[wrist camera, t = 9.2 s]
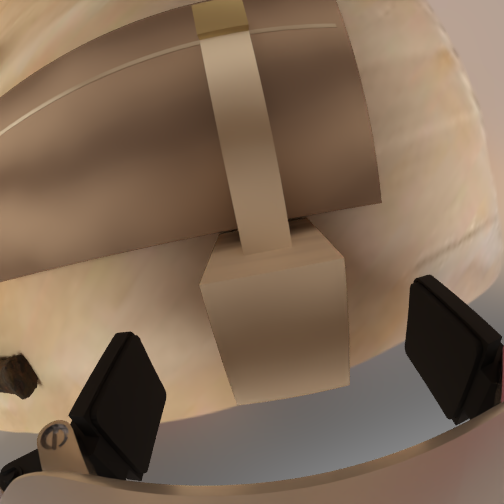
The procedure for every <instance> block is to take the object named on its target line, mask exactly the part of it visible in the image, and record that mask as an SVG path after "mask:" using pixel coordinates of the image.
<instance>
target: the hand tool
mask: <svg viewBox="0 0 504 504" xmlns="http://www.w3.org/2000/svg"><path fill="white" fill-rule="evenodd" d="M35 388H37V376H36V375H35V373H34V371H33V369H32V368H31V366H30V365H29V363H28V362H27V360H26V359H25V358H24V357H23V356H21V355H17V356H15V357H14V356H13V357H11V358H7V359H6V360H0V392H3V393H10V394H16V395H17V396H19V397H20V398H21V399H26V398H27V397H30V395H31V394H32V393H33V392H34V390H35Z"/></svg>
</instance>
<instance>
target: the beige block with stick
mask: <svg viewBox="0 0 504 504" xmlns="http://www.w3.org/2000/svg"><path fill="white" fill-rule="evenodd" d="M191 6H192V11H193V16H194V22H195V27H196V32H197V36H198V38H199V40H200V45H201V50H202V56H203V61H204V66H205V71H206V76H207V81H208V86H209V91H210V96H211V101H212V106H213V111H214V116H215V121H216V125H217V130H218V135H219V140H220V145H221V150H222V155H223V160H224V164H225V169H226V174H227V179H228V184H229V188H230V193H231V198H232V203H233V207H234V212H235V217H236V222H237V226H238V231H235V232H230V233H224V234H219V237H218V239H217V242H216V244H215V247H214V249H213V251H212V254H211V256H210V259H209V261H208V264H207V266H206V269H205V271H204V274H203V276H202V279H201V281H200V284H199V286H200V290H201V293H202V297H203V300H204V304H205V307H206V311H207V314H208V317H209V321H210V324H211V327H212V330H213V334H214V337H215V340H216V343H217V346H218V350H219V353H220V356H221V359H222V362H223V365H224V368H225V371H226V374H227V377H228V380H229V383H230V386H231V389H232V392H233V394H234V397H235V400H236V403H237V405H244V404H251V403H260V402H266V401H273V400H279V399H285V398H291V397H297V396H302V395H307V394H312V393H317V392H322V391H326V390H331V389H335V388H339V387H343V386H347V385H349V384H350V383H349V381H350V379H349V377H350V372H349V371H350V360H349V321H348V301H347V285H346V272H345V260H344V257H343V256H342V255H341V254H340V253H339V252H338V250H337V249H336V248H335V247H334V246H333V245H332V244H331V243H330V242H329V241H328V240H327V239H326V237H325V236H324V235H323V234H322V233H321V232H320V231H319V230H318V229H317V228H316V227H315V226H314V225H313V224H312V223H311V222H310V221H309V219H308V218H304V219H299V220H293V221H288V218H287V212H286V206H285V200H284V195H283V189H282V184H281V178H280V173H279V168H278V162H277V157H276V152H275V147H274V142H273V137H272V132H271V127H270V122H269V117H268V113H267V108H266V103H265V98H264V94H263V89H262V85H261V80H260V76H259V72H258V67H257V63H256V59H255V54H254V50H253V46H252V42H251V38H250V34H249V24H248V20H247V16H246V13H245V9H244V5H243V1H242V0H213V1H208V2H203V3H199V4H195V5H191Z"/></svg>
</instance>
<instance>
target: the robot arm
mask: <svg viewBox="0 0 504 504" xmlns="http://www.w3.org/2000/svg"><path fill="white" fill-rule="evenodd" d="M501 339H502V336H501V335H500V334H499V333H498V332H497V331H495V330H494V329H493V328H492V327H491V326H490V325H489V324H488V323H487V322H486V321H485V320H483V319H482V318H481V317H480V316H479V315H478V314H477V313H476V312H475V311H474V310H472V309H471V308H470V307H469V306H468V305H467V304H466V303H464V302H463V301H462V300H461V299H460V298H459V297H457V296H456V295H455V294H454V293H453V292H451V291H450V290H449V289H448V288H447V287H445V286H444V285H443V284H442V283H441V282H439V281H438V280H437V279H436V278H434V277H433V276H432V275H426V276H423V277H419V278H416V279H415V280H414V283H413V284H411V286H410V296H409V310H408V321H407V331H406V340H405V351H406V354H407V356H408V357H409V359H410V360H411V362H412V363H413V365H414V366H415V368H416V370H417V371H418V372H419V374H420V376H421V377H422V379H423V380H424V382H425V383H426V385H427V386H428V388H429V390H430V391H431V393H432V394H433V396H434V398H435V399H436V401H437V402H438V404H439V405H440V407H441V409H442V410H443V412H444V414H445V415H446V417H447V418H448V419H452V420H453V422H454V423H455V425H458V424H460V423H462V422H464V421H465V420H467V419H470V420H469V421H467V422H465V423H463V424H462V425H459V426H457V427H455V428H453V429H451V430H449V431H447V432H445V433H442V434H441V435H438V436H436V437H434V438H432V439H429V440H427V441H424V442H422V443H420V444H417V445H415V446H412V447H410V448H407V449H405V450H402V451H399V452H396V453H393V454H391V455H388V456H385V457H382V458H379V459H375V460H372V461H369V462H365V463H362V464H358V465H355V466H351V467H347V468H344V469H339V470H336V471H331V472H327V473H322V474H317V475H312V476H307V477H301V478H295V479H288V480H282V481H274V482H265V483H256V484H241V485H220V486H186V485H167V484H154V483H144V482H134V481H126V478H127V479H130V480H138V481H142V476H143V473H146V472H147V470H148V467H149V463H150V459H151V455H152V451H153V447H154V443H155V439H156V435H157V431H158V427H159V424H160V420H161V416H162V412H163V409H164V405H165V401H166V391H165V389H164V387H163V385H162V383H161V381H160V379H159V377H158V375H157V373H156V371H155V369H154V367H153V365H152V363H151V361H150V359H149V357H148V355H147V353H146V351H145V349H144V346H143V344H142V342H141V340H140V338H139V337H138V336H137V335H134V333H133V332H122V333H116V334H115V335H114V337H113V339H112V340H111V342H110V344H109V345H108V347H107V348H106V350H105V352H104V353H103V355H102V357H101V358H100V360H99V362H98V363H97V365H96V367H95V369H94V370H93V372H92V374H91V375H90V377H89V379H88V381H87V382H86V384H85V386H84V388H83V389H82V391H81V393H80V395H79V397H78V398H77V400H76V402H75V404H74V406H73V408H72V409H71V411H70V413H69V417H70V418H71V419H72V422H71V424H69V423H68V422H67V421H63V420H56V421H53V422H51V423H49V424H47V425H46V426H45V427H44V428H43V429H42V430H41V431H40V433H39V435H38V438H37V447H38V449H36V450H34V451H32V452H30V453H28V454H26V455H24V456H22V457H20V458H18V459H16V460H14V461H12V462H10V463H8V464H7V465H5V466H4V467H3V468H2V470H1V473H0V504H504V345H503V344H502V343H501Z"/></svg>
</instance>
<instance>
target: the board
mask: <svg viewBox="0 0 504 504" xmlns="http://www.w3.org/2000/svg"><path fill="white" fill-rule="evenodd" d="M208 1H213V0H207V1H203V2H208ZM242 1H243V5H244V9H245V13H246V16H247V20H248V24H249V34H250V38H251V42H252V46H253V50H254V54H255V59H256V63H257V67H258V72H259V76H260V80H261V85H262V89H263V94H264V98H265V103H266V108H267V113H268V117H269V122H270V127H271V132H272V137H273V142H274V147H275V152H276V157H277V162H278V168H279V173H280V178H281V184H282V189H283V195H284V200H285V206H286V212H287V218H288V219H291V218H296V217H302V216H307V215H313V214H319V213H324V212H330V211H336V210H342V209H347V208H353V207H359V206H365V205H371V204H378V203H382V201H381V191H380V183H379V175H378V167H377V160H376V154H375V147H374V141H373V136H372V130H371V125H370V120H369V115H368V110H367V105H366V100H365V96H364V92H363V87H362V83H361V79H360V75H359V71H358V68H357V64H356V60H355V57H354V53H353V50H352V46H351V43H350V40H349V37H348V33H347V30H346V27H345V24H344V21H343V18H342V16H341V13H340V10H339V7H338V4H337V2H336V0H242ZM203 2H198V3H194V4H190V5H186V6H183V7H179V8H175V9H172V10H169V11H165V12H162V13H159V14H156V15H153V16H150V17H147V18H144V19H141V20H139V21H136V22H133V23H131V24H128V25H125V26H123V27H121V28H118V29H116V30H113V31H111V32H109V33H107V34H104V35H102V36H100V37H98V38H96V39H94V40H91V41H89V42H87V43H85V44H83V45H81V46H79V47H78V48H76V49H74V50H72V51H70V52H68V53H66V54H65V55H63V56H61V57H59V58H58V59H56V60H54V61H53V62H51V63H49V64H48V65H46V66H44V67H43V68H41V69H40V70H38V71H37V72H35V73H33V74H32V75H30V76H29V77H28V78H26V79H25V80H23V81H22V82H20V83H19V84H18V85H16V86H15V87H13V88H12V89H11V90H9V91H8V92H7V93H5V94H4V95H3V96H2V97H0V282H3V281H7V280H10V279H14V278H18V277H22V276H26V275H30V274H34V273H38V272H42V271H46V270H50V269H54V268H58V267H63V266H67V265H71V264H75V263H79V262H84V261H88V260H92V259H97V258H101V257H105V256H110V255H114V254H119V253H123V252H127V251H132V250H137V249H141V248H146V247H150V246H155V245H160V244H164V243H169V242H174V241H178V240H183V239H188V238H193V237H198V236H203V235H208V234H213V233H218V232H223V231H228V230H233V229H238V226H237V222H236V217H235V212H234V207H233V203H232V198H231V193H230V188H229V184H228V179H227V174H226V169H225V164H224V160H223V155H222V150H221V145H220V140H219V135H218V130H217V125H216V121H215V116H214V111H213V106H212V101H211V96H210V91H209V86H208V81H207V76H206V71H205V66H204V61H203V56H202V50H201V45H200V40H199V38H198V36H197V32H196V27H195V22H194V16H193V11H192V6H191V5H195V4H199V3H203Z"/></svg>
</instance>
